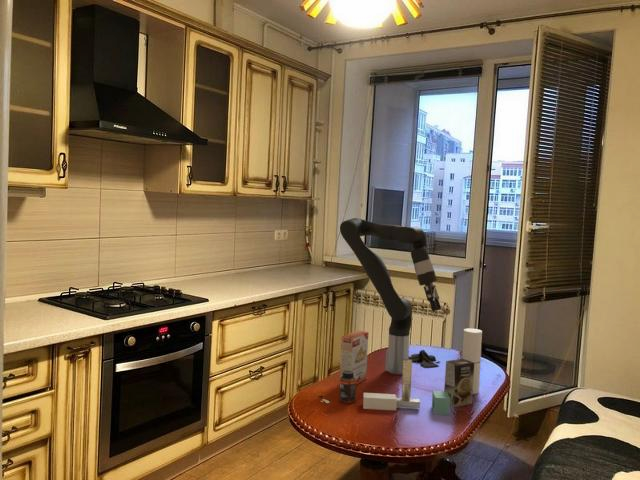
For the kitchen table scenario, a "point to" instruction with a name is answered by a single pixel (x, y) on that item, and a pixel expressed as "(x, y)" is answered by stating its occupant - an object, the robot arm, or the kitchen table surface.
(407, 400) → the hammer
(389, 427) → the kitchen table surface
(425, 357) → the cloth
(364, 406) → the sleeve
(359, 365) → the cracker box
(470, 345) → the cylindrical container
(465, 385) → the coffee box
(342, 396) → the supplement bottle
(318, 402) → the kitchen table surface
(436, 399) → the socket
